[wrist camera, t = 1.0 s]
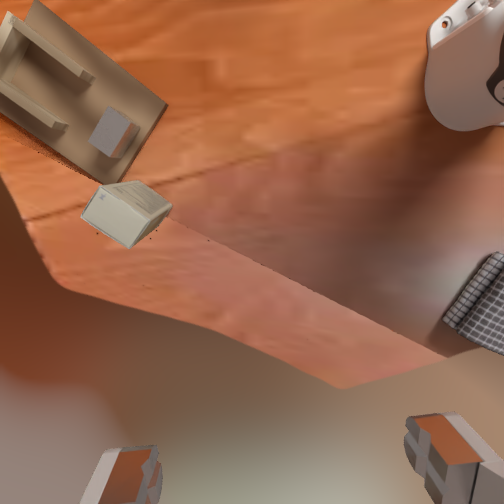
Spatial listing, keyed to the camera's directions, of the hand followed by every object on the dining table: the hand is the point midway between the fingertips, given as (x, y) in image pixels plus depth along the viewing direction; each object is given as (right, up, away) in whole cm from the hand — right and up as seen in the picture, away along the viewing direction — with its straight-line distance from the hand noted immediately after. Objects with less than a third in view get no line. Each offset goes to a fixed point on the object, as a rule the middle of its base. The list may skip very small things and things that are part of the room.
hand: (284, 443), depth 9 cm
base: (-24, +26, +28) cm, 45 cm away
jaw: (-19, +22, +28) cm, 40 cm away
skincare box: (-16, +13, +32) cm, 38 cm away
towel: (+43, -3, +40) cm, 59 cm away
